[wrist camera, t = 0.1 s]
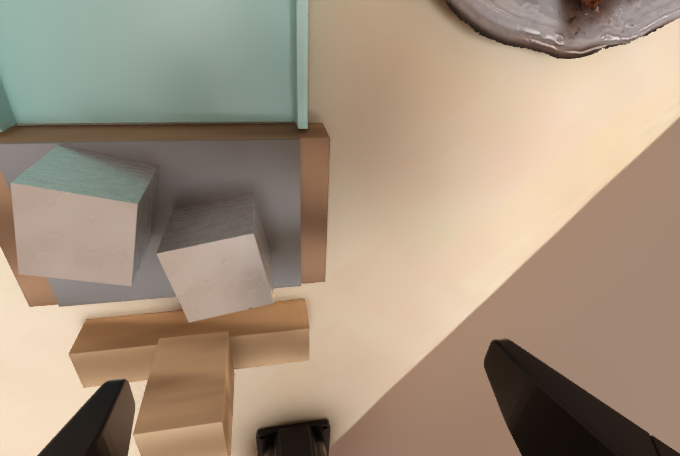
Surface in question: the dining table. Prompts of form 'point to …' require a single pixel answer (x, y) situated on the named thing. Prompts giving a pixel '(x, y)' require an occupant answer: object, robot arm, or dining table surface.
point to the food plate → (565, 22)
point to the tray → (153, 61)
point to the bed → (190, 193)
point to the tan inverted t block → (188, 368)
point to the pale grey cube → (217, 257)
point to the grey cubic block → (84, 216)
